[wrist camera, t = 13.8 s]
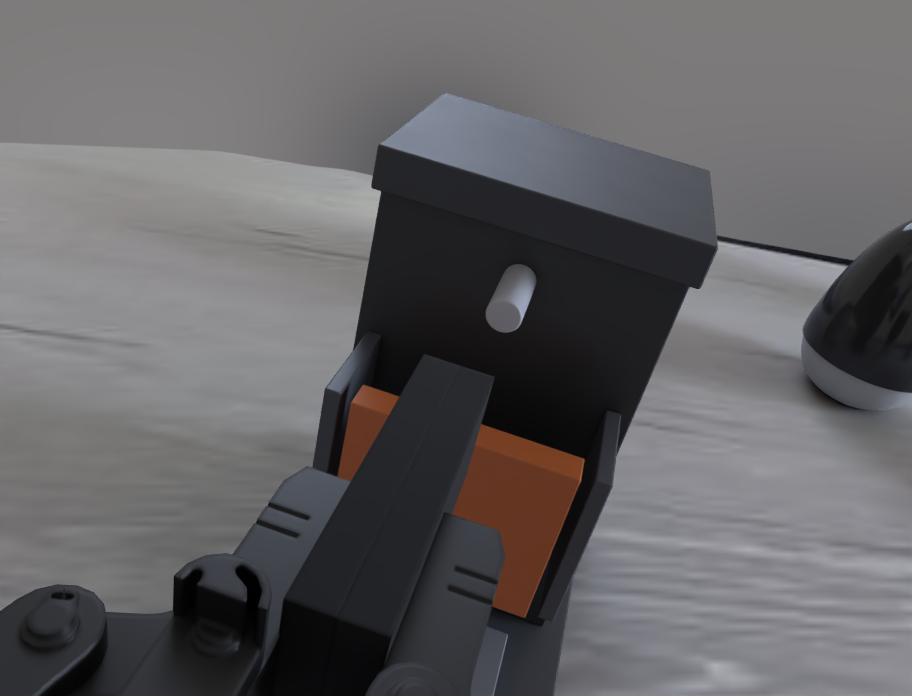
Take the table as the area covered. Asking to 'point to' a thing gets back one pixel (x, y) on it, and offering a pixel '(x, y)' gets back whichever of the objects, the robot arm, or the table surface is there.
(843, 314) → the pump dispenser
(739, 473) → the table surface
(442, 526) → the robot arm
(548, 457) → the push plate
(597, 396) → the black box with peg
